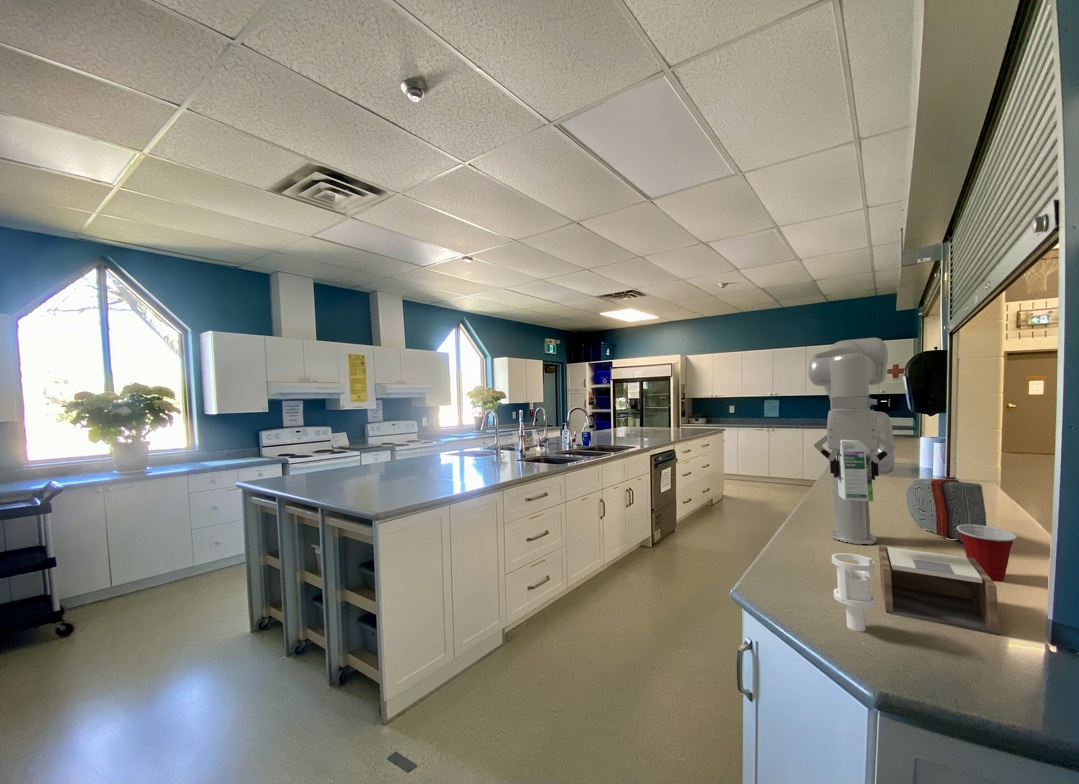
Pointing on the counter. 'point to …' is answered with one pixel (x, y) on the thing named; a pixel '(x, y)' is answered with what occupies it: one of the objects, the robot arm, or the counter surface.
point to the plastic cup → (988, 548)
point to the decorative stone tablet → (945, 505)
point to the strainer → (854, 588)
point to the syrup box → (854, 471)
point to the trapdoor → (933, 564)
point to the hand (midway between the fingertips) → (854, 477)
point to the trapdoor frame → (940, 597)
